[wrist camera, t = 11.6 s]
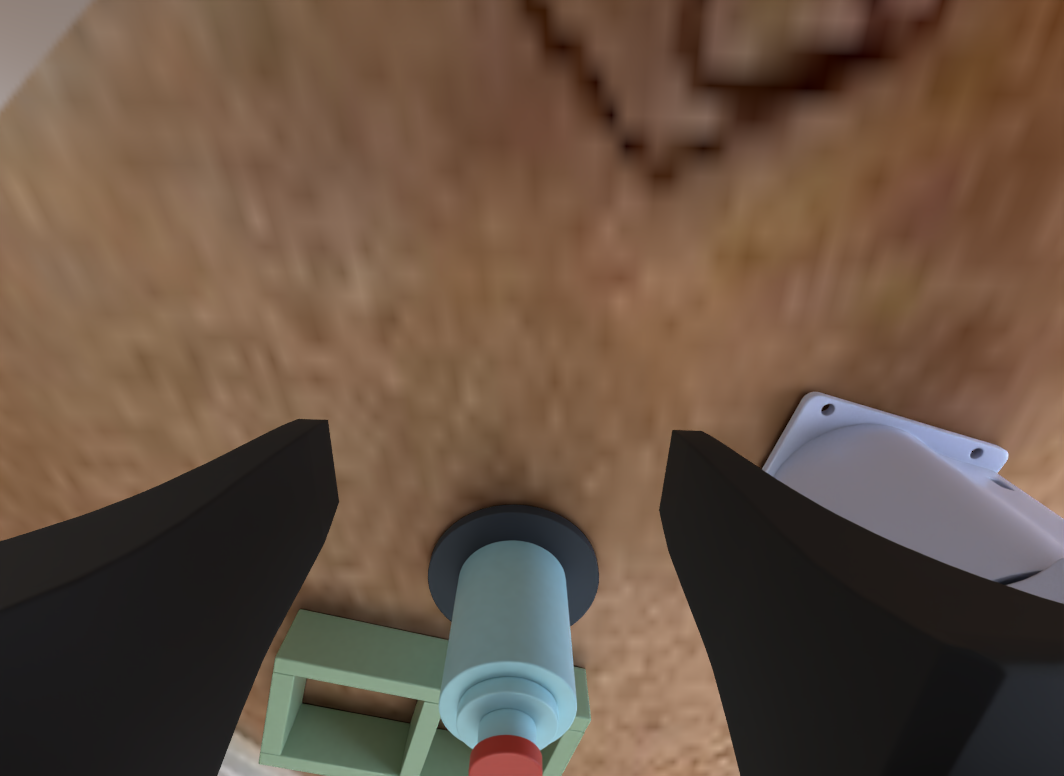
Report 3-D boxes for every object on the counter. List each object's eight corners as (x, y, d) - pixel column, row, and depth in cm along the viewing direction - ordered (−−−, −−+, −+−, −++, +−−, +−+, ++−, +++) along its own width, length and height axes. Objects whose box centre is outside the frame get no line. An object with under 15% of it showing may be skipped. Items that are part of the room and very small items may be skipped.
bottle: (580, 553, 24) (605, 742, 16) (546, 630, 26) (555, 830, 18) (474, 528, 23) (448, 712, 16) (447, 608, 25) (413, 807, 18)
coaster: (622, 527, 24) (624, 536, 24) (566, 646, 27) (567, 657, 27) (452, 485, 23) (450, 493, 23) (414, 614, 26) (411, 624, 26)
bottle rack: (299, 607, 26) (274, 657, 23) (585, 668, 28) (591, 720, 25) (281, 710, 29) (258, 764, 27) (540, 758, 31) (541, 813, 28)
